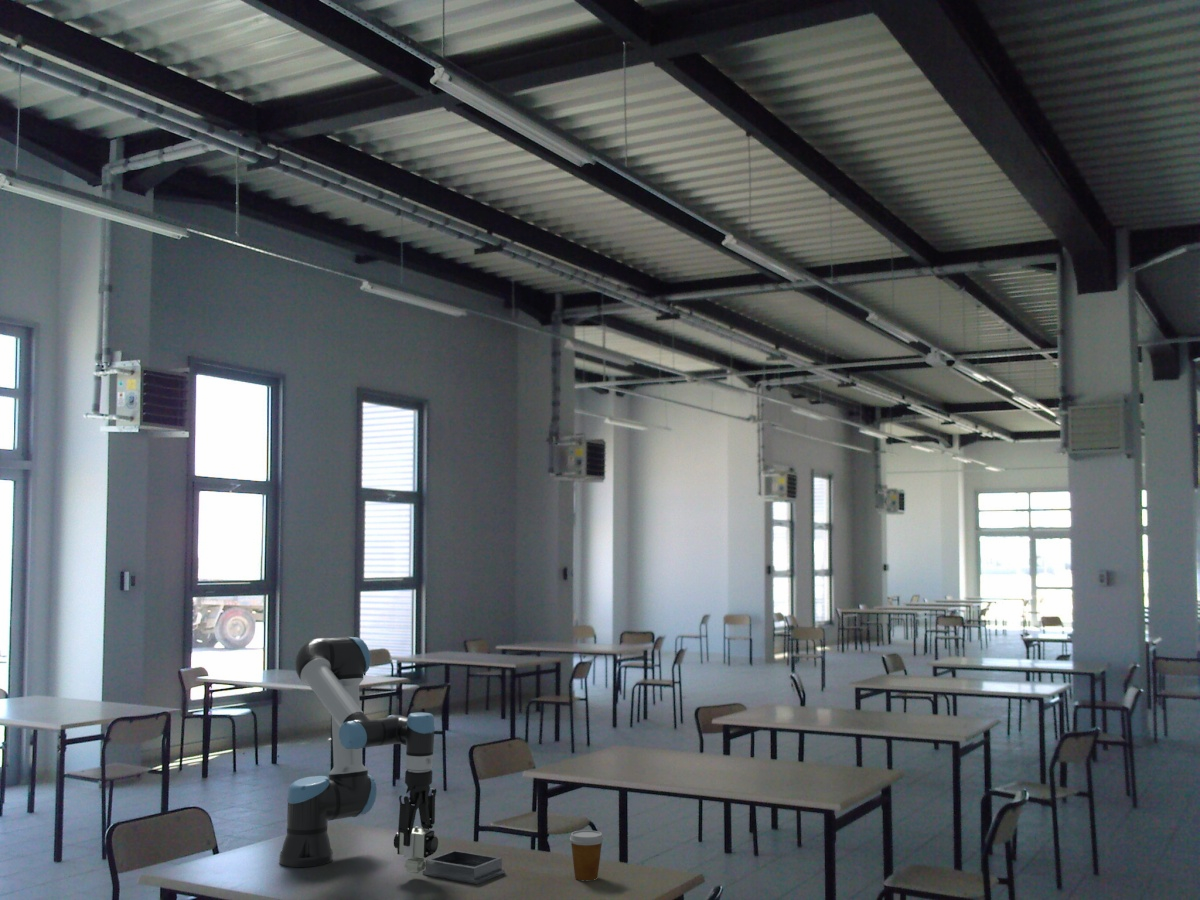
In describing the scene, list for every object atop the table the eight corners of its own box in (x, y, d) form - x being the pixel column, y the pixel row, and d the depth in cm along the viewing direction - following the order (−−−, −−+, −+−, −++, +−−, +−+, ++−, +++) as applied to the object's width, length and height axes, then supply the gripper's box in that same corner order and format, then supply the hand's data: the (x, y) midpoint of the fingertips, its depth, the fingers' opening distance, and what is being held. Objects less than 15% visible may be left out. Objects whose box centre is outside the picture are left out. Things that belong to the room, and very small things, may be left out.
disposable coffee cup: (596, 884, 292) (596, 839, 294) (564, 881, 295) (564, 836, 297) (608, 875, 301) (608, 831, 302) (576, 872, 304) (576, 828, 306)
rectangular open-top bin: (422, 874, 301) (422, 859, 302) (451, 863, 312) (451, 849, 313) (477, 884, 292) (477, 869, 292) (504, 873, 303) (504, 858, 303)
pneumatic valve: (429, 876, 293) (431, 831, 294) (392, 871, 297) (393, 826, 298) (439, 870, 298) (440, 826, 299) (402, 865, 302) (403, 822, 303)
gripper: (407, 776, 290) (404, 865, 288) (450, 766, 306) (447, 849, 304) (386, 773, 294) (382, 860, 292) (429, 763, 310) (426, 845, 308)
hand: (415, 854), depth 298 cm, fingers closed on pneumatic valve, 6 cm apart
